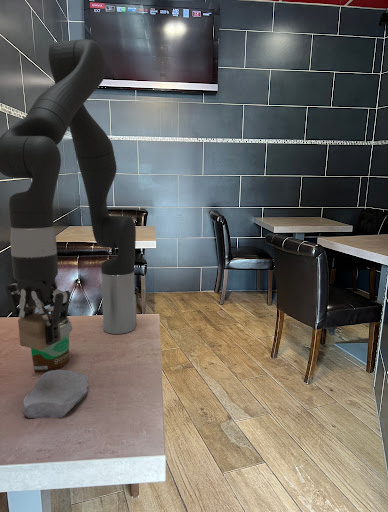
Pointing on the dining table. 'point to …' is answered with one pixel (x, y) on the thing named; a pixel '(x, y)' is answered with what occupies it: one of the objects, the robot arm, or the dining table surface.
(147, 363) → the dining table surface
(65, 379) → the stone block
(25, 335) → the walnut block
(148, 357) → the dining table surface
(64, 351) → the food container
